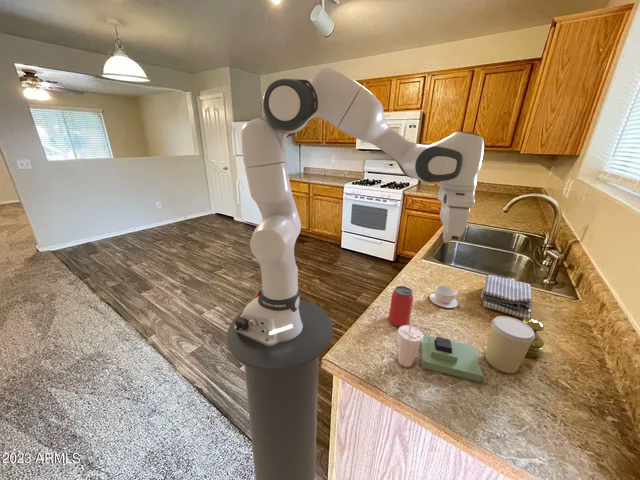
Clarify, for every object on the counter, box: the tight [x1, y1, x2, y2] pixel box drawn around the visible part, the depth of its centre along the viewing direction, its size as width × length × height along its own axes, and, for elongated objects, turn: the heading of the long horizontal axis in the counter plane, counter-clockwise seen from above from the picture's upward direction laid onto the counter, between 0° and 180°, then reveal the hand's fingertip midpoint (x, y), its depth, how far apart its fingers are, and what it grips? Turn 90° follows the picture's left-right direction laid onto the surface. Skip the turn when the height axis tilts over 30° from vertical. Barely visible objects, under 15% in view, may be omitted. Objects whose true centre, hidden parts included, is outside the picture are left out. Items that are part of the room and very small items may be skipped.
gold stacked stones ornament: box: [521, 318, 545, 358], centre depth 76 cm, size 7×7×10 cm
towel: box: [480, 274, 533, 320], centre depth 99 cm, size 15×18×8 cm
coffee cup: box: [484, 315, 535, 374], centre depth 71 cm, size 9×9×12 cm
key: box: [435, 336, 452, 353], centre depth 72 cm, size 4×4×2 cm
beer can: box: [388, 285, 414, 328], centre depth 86 cm, size 7×7×12 cm
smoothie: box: [397, 316, 424, 368], centre depth 70 cm, size 6×6×14 cm
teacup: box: [429, 285, 460, 309], centre depth 100 cm, size 10×10×5 cm
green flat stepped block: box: [420, 334, 484, 383], centre depth 73 cm, size 14×11×4 cm
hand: (446, 240), depth 78 cm, fingers closed
